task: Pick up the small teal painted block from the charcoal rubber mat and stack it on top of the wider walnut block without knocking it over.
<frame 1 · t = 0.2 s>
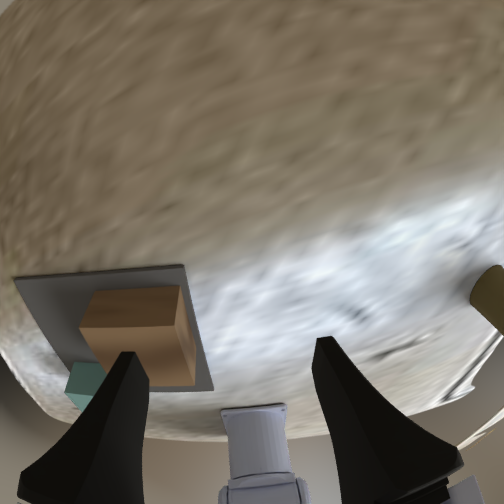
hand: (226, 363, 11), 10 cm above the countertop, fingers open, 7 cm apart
cork: (486, 285, 26), on the countertop
walnut block: (147, 322, 22), resting on mat
mat: (117, 342, 24), on the countertop
teal block: (100, 375, 26), resting on mat
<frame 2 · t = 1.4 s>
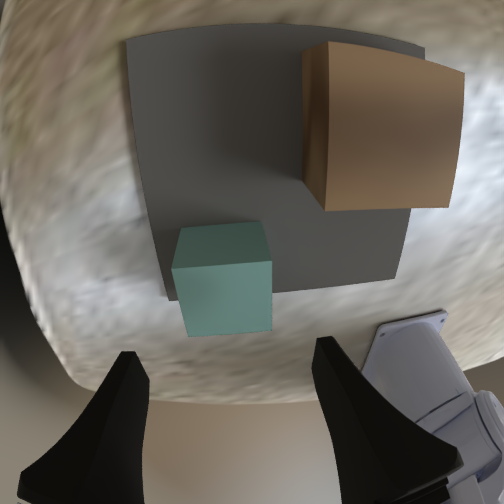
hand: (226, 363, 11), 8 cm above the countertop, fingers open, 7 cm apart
walnut block: (365, 119, 14), resting on mat
mat: (291, 170, 16), on the countertop
teal block: (224, 258, 18), resting on mat
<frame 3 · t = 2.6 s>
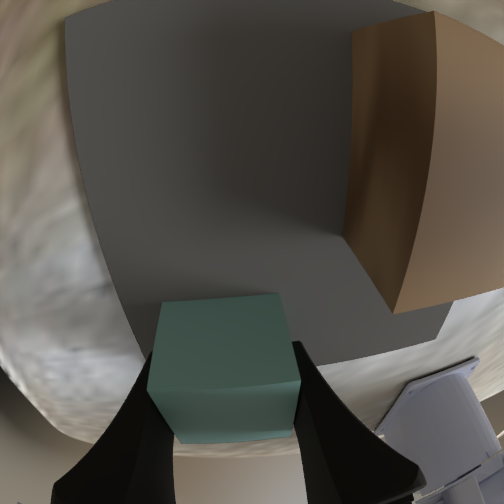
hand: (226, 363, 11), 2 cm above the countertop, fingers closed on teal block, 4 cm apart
walnut block: (435, 145, 8), resting on mat
mat: (326, 219, 10), on the countertop
teal block: (225, 337, 12), resting on mat, touching gripper
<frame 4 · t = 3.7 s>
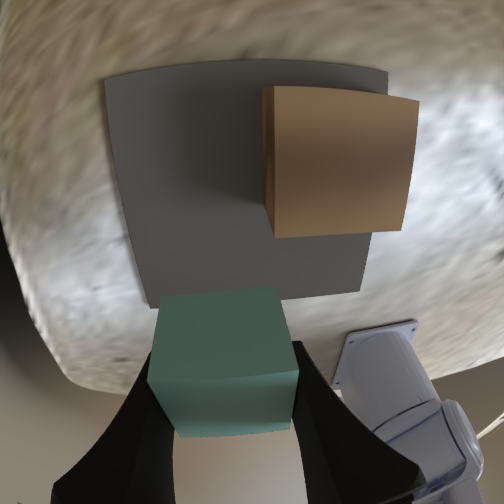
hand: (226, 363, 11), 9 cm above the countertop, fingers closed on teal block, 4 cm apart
walnut block: (323, 147, 16), resting on mat
mat: (254, 195, 18), on the countertop
teal block: (224, 331, 12), point 8 cm above the countertop, touching gripper
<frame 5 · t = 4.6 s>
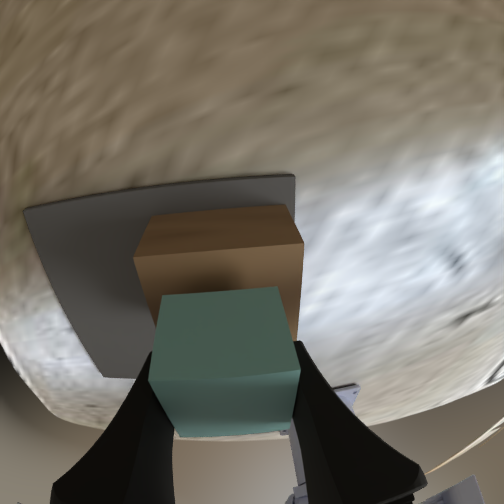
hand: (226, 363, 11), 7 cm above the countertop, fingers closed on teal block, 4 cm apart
walnut block: (223, 265, 17), resting on mat
mat: (167, 304, 19), on the countertop
teal block: (224, 331, 12), point 6 cm above the countertop, touching gripper
when the fingers open (7 cm above the countertop, at t = 5.1 s): teal block stays where it is, resting on walnut block.
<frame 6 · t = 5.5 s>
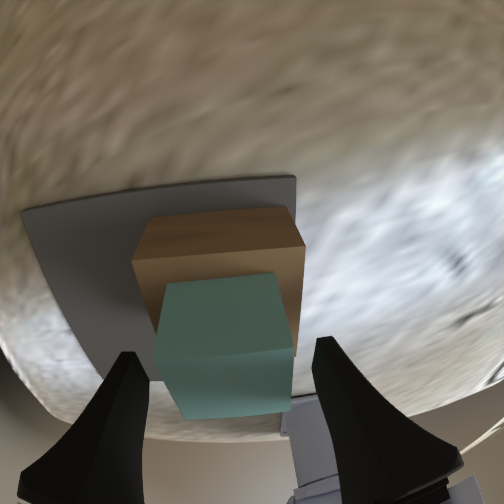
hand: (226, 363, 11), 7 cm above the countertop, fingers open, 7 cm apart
walnut block: (223, 268, 17), resting on mat, touching teal block
mat: (166, 307, 18), on the countertop
teal block: (226, 317, 13), point 4 cm above the countertop, touching walnut block
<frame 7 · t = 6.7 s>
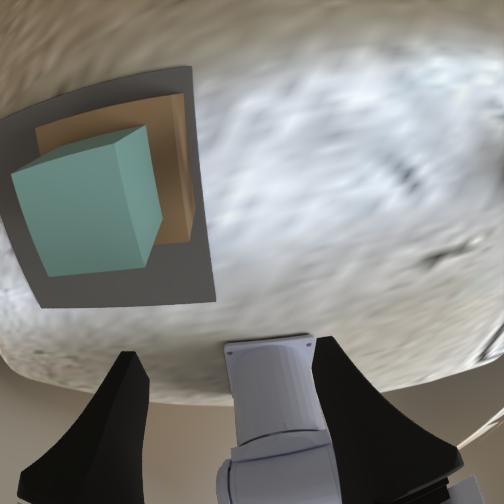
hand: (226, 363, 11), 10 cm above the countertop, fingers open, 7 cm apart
walnut block: (130, 160, 16), resting on mat, touching teal block
mat: (86, 211, 17), on the countertop
teal block: (108, 181, 12), point 4 cm above the countertop, touching walnut block
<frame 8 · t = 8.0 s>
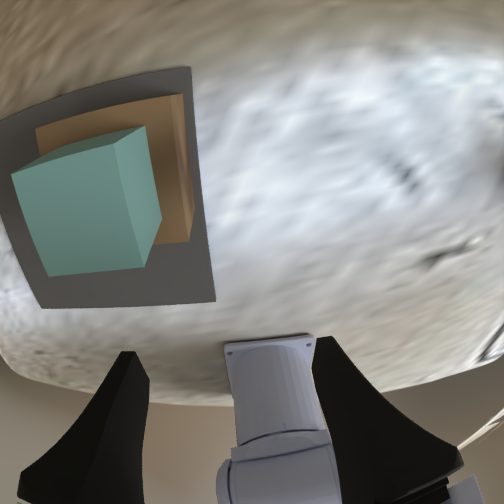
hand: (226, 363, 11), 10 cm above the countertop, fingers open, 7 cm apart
walnut block: (130, 161, 16), resting on mat, touching teal block
mat: (86, 212, 17), on the countertop
teal block: (108, 181, 12), point 4 cm above the countertop, touching walnut block
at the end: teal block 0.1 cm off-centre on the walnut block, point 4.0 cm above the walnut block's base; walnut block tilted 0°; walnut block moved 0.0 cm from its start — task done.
